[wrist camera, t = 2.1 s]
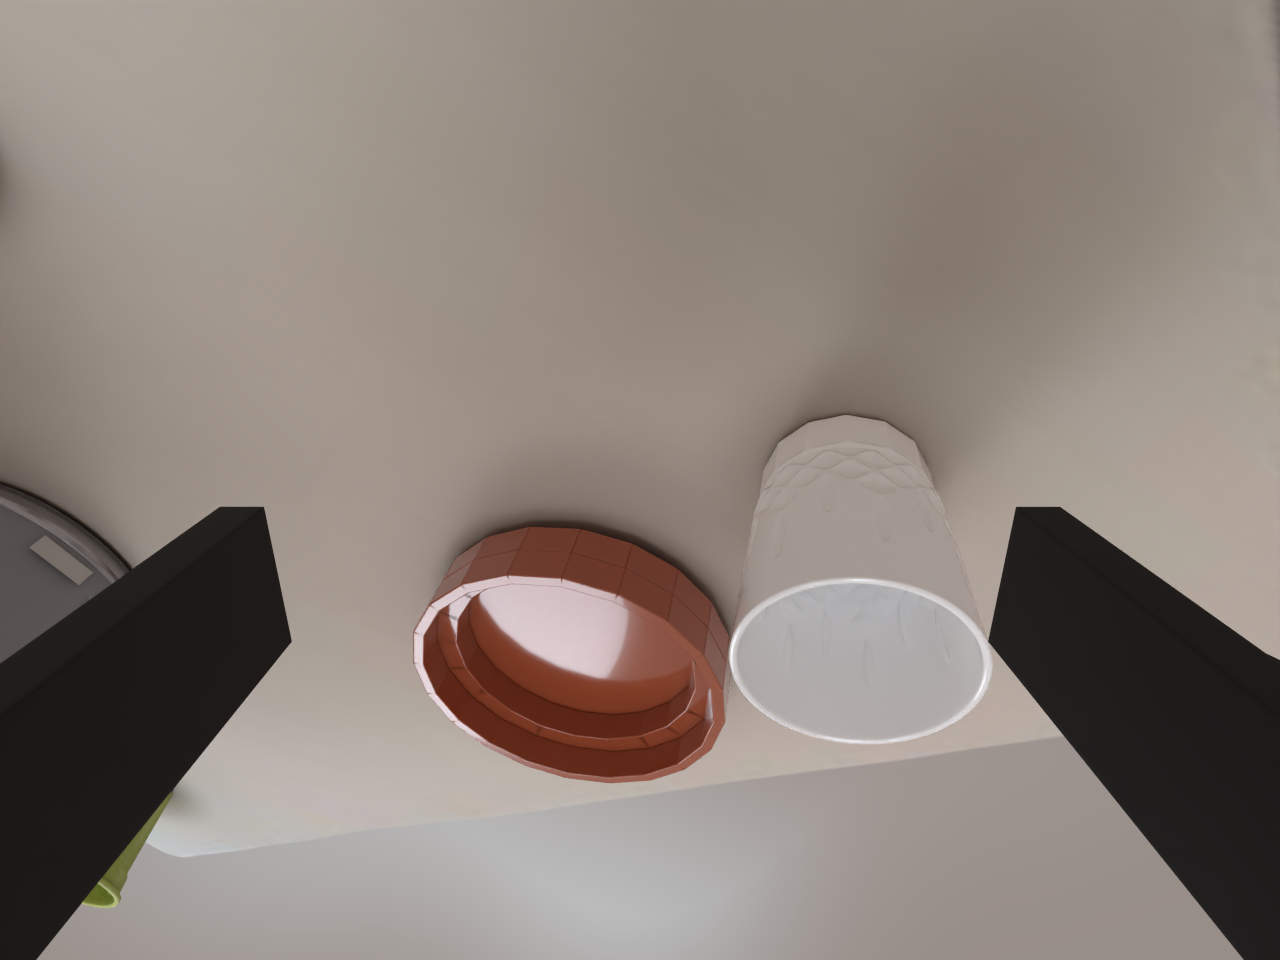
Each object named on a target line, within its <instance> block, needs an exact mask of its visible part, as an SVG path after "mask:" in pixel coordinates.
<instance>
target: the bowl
mask: <svg viewBox="0 0 1280 960" xmlns="http://www.w3.org/2000/svg"><path fill="white" fill-rule="evenodd" d="M729 648H730V638H729V635H728V633H727V631H726V629H725V627H724V625H723V623H722V621H721V619H720V617H719V616H718V614H717V612H716V610H715V608H714V606H713V604H712V602H711V601H710V600H709V599H708V598H707V597H706V596H705V595H704V594H703V593H702V592H701V591H700V590H699V589H698V588H697V587H696V586H695V585H694V584H693V583H692V582H691V581H690V580H689V579H688V578H687V577H686V576H685V575H684V574H683V573H682V572H681V571H680V570H678V569H677V568H676V567H674V566H672V565H670V564H668V563H667V562H665V561H663V560H661V559H660V558H658V557H656V556H654V555H652V554H651V553H649V552H647V551H645V550H643V549H642V548H640V547H638V546H636V545H635V544H631V543H629V542H625V541H622V540H618V539H615V538H611V537H608V536H604V535H601V534H598V533H594V532H591V531H587V530H584V529H581V530H580V529H574V528H550V527H526V528H522V529H518V530H513V531H509V532H505V533H501V534H497V535H492V536H488V537H487V538H485V539H483V540H482V541H480V542H479V543H477V544H476V545H474V546H473V547H471V548H470V549H468V550H467V551H465V552H464V553H462V554H461V555H459V556H458V557H457V558H455V560H454V562H453V563H452V565H451V567H450V569H449V570H448V572H447V574H446V575H445V577H444V579H443V581H442V582H441V584H440V586H439V588H438V589H437V591H436V593H435V594H434V596H433V598H432V600H431V601H430V603H429V605H428V607H427V608H426V610H425V612H424V613H423V615H422V617H421V619H420V620H419V622H418V624H417V626H416V627H415V629H414V632H413V662H414V665H415V667H416V670H417V672H418V674H419V676H420V679H421V681H422V683H423V685H424V688H425V690H426V692H427V693H428V695H429V696H430V697H431V698H432V700H433V701H434V702H435V703H436V704H437V705H438V706H439V708H440V709H441V710H442V711H443V712H444V713H445V714H446V716H447V717H448V718H449V719H450V720H451V721H452V722H453V723H454V724H456V725H457V726H458V727H460V728H461V729H462V730H464V731H465V732H467V733H468V734H469V735H471V736H472V737H473V738H475V739H476V740H477V741H479V742H480V743H482V744H483V745H484V746H486V747H488V748H490V749H492V750H494V751H496V752H498V753H500V754H502V755H504V756H506V757H508V758H510V759H512V760H515V761H517V762H519V763H521V764H523V765H525V766H528V767H531V768H535V769H538V770H541V771H545V772H548V773H551V774H555V775H558V776H562V777H565V778H570V779H579V780H587V781H595V782H603V783H621V782H636V781H649V780H654V779H657V778H660V777H663V776H666V775H669V774H672V773H676V772H679V771H682V770H685V769H686V768H688V767H689V766H690V765H692V764H693V763H694V762H696V761H697V760H698V759H700V758H701V757H702V756H704V755H705V754H706V753H708V752H709V751H710V750H711V749H712V747H713V745H714V743H715V741H716V740H717V738H718V736H719V734H720V732H721V730H722V728H723V726H724V724H725V719H726V710H727V701H728V691H729V682H730V673H731V668H730V663H729Z"/></svg>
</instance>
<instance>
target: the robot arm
mask: <svg viewBox="0 0 1280 960" xmlns="http://www.w3.org/2000/svg"><path fill="white" fill-rule="evenodd" d="M291 642H292V640H291V636H290V631H289V626H288V621H287V616H286V611H285V607H284V602H283V597H282V592H281V587H280V583H279V578H278V573H277V568H276V563H275V558H274V554H273V549H272V544H271V539H270V534H269V529H268V525H267V520H266V515H265V510H264V507H219V508H218V509H216V510H215V511H214V512H212V513H211V514H209V515H208V516H206V517H205V518H204V519H202V520H201V521H199V522H198V523H197V524H195V525H194V526H192V527H191V528H190V529H188V530H187V531H185V532H184V533H183V534H181V535H180V536H178V537H177V538H176V539H174V540H173V541H171V542H170V543H169V544H167V545H166V546H164V547H163V548H162V549H160V550H159V551H157V552H156V553H155V554H153V555H152V556H150V557H149V558H148V559H146V560H145V561H143V562H142V563H140V564H139V565H138V566H136V567H135V568H133V569H132V570H131V571H129V570H128V568H127V567H126V566H125V565H124V564H123V563H122V561H121V560H120V559H119V558H118V557H117V556H116V555H115V554H114V553H113V552H112V551H111V550H110V549H109V548H108V547H106V546H105V545H104V544H103V543H102V542H101V541H100V540H98V539H97V538H96V537H95V536H94V535H92V534H91V533H90V532H89V531H87V530H86V529H85V528H83V527H82V526H81V525H79V524H78V523H76V522H75V521H73V520H72V519H70V518H69V517H67V516H66V515H64V514H63V513H61V512H59V511H58V510H56V509H54V508H53V507H51V506H49V505H47V504H45V503H44V502H42V501H40V500H38V499H36V498H34V497H32V496H30V495H27V494H25V493H23V492H20V491H18V490H16V489H13V488H10V487H8V486H5V485H2V484H0V960H36V959H37V958H38V957H39V955H40V954H41V953H42V952H43V951H44V949H45V948H46V947H47V946H48V944H49V943H50V942H51V941H52V939H53V938H54V937H55V936H56V934H57V933H58V932H59V931H60V929H61V928H62V927H63V926H64V924H65V923H66V922H67V921H68V919H69V918H70V917H71V916H72V914H73V913H74V912H75V911H76V910H77V908H78V907H79V906H80V904H81V903H82V902H83V901H84V900H85V898H86V897H87V896H88V895H89V893H90V892H91V891H92V890H93V888H94V887H95V886H96V885H97V883H98V882H99V881H100V880H101V878H102V877H103V876H104V875H105V873H106V872H107V871H108V870H109V868H110V867H111V866H112V865H113V863H114V862H115V861H116V860H117V858H118V857H119V856H120V855H121V853H122V852H123V851H124V850H125V848H126V847H127V846H128V845H129V844H130V842H131V841H132V840H133V839H134V837H135V836H136V835H137V834H138V832H139V831H140V830H141V829H142V827H143V826H144V825H145V824H146V822H147V821H148V820H149V819H150V817H151V816H152V815H153V814H154V812H155V811H156V810H157V809H158V807H159V806H160V805H161V804H162V802H163V801H164V800H165V799H166V797H167V796H168V795H169V794H170V792H171V791H172V790H173V789H174V787H175V786H176V785H177V784H178V782H179V781H180V780H181V779H182V778H183V776H184V775H185V774H186V773H187V771H188V770H189V769H190V768H191V766H192V765H193V764H194V763H195V761H196V760H197V759H198V758H199V756H200V755H201V754H202V753H203V751H204V750H205V749H206V748H207V746H208V745H209V744H210V743H211V741H212V740H213V739H214V738H215V736H216V735H217V734H218V733H219V731H220V730H221V729H222V728H223V726H224V725H225V724H226V723H227V721H228V720H229V719H230V718H231V716H232V715H233V714H234V713H235V712H236V710H237V709H238V708H239V707H240V705H241V704H242V703H243V702H244V700H245V699H246V698H247V697H248V695H249V694H250V693H251V692H252V690H253V689H254V688H255V687H256V685H257V684H258V683H259V682H260V680H261V679H262V678H263V677H264V675H265V674H266V673H267V672H268V670H269V669H270V668H271V667H272V665H273V664H274V663H275V662H276V660H277V659H278V658H279V657H280V655H281V654H282V653H283V652H284V650H285V649H286V648H287V647H288V646H289V644H290V643H291ZM988 642H989V643H990V644H991V646H992V647H993V648H994V649H995V651H996V652H997V653H998V654H999V655H1000V657H1001V658H1002V659H1003V660H1004V662H1005V663H1006V664H1007V665H1008V667H1009V668H1010V669H1011V670H1012V672H1013V673H1014V674H1015V675H1016V677H1017V678H1018V679H1019V680H1020V682H1021V683H1022V684H1023V685H1024V687H1025V688H1026V689H1027V690H1028V692H1029V693H1030V694H1031V695H1032V697H1033V698H1034V699H1035V700H1036V702H1037V703H1038V704H1039V705H1040V707H1041V708H1042V709H1043V710H1044V712H1045V713H1046V714H1047V715H1048V716H1049V718H1050V719H1051V720H1052V721H1053V723H1054V724H1055V725H1056V726H1057V728H1058V729H1059V730H1060V731H1061V733H1062V734H1063V735H1064V736H1065V738H1066V739H1067V740H1068V741H1069V743H1070V744H1071V745H1072V746H1073V748H1074V749H1075V750H1076V751H1077V753H1078V754H1079V755H1080V756H1081V758H1082V759H1083V760H1084V761H1085V763H1086V764H1087V765H1088V766H1089V767H1090V769H1091V770H1092V771H1093V773H1094V774H1095V775H1096V776H1097V777H1098V779H1099V780H1100V781H1101V782H1102V784H1103V785H1104V786H1105V787H1106V789H1107V790H1108V791H1109V792H1110V794H1111V795H1112V796H1113V797H1114V799H1115V800H1116V801H1117V802H1118V804H1119V805H1120V806H1121V807H1122V809H1123V810H1124V811H1125V812H1126V814H1127V815H1128V816H1129V817H1130V819H1131V820H1132V821H1133V822H1134V824H1135V825H1136V826H1137V827H1138V828H1139V830H1140V831H1141V832H1142V834H1143V835H1144V836H1145V837H1146V839H1147V840H1148V841H1149V842H1150V843H1151V845H1152V846H1153V847H1154V848H1155V850H1156V851H1157V852H1158V853H1159V855H1160V856H1161V857H1162V858H1163V860H1164V861H1165V862H1166V863H1167V865H1168V866H1169V867H1170V868H1171V870H1172V871H1173V872H1174V873H1175V875H1176V876H1177V877H1178V878H1179V880H1180V881H1181V882H1182V883H1183V885H1184V886H1185V887H1186V888H1187V890H1188V891H1189V892H1190V893H1191V895H1192V896H1193V897H1194V898H1195V900H1196V901H1197V902H1198V903H1199V905H1200V906H1201V907H1202V908H1203V910H1204V911H1205V912H1206V913H1207V914H1208V916H1209V917H1210V918H1211V919H1212V921H1213V922H1214V923H1215V924H1216V926H1217V927H1218V928H1219V929H1220V931H1221V932H1222V933H1223V934H1224V936H1225V937H1226V938H1227V939H1228V941H1229V942H1230V943H1231V944H1232V946H1233V947H1234V948H1235V949H1236V951H1237V952H1238V953H1239V954H1240V956H1241V957H1242V958H1243V959H1244V960H1280V660H1279V659H1276V658H1274V657H1272V656H1270V655H1268V654H1266V653H1265V652H1263V651H1262V650H1260V649H1259V648H1257V647H1256V646H1255V645H1253V644H1252V643H1250V642H1249V641H1248V640H1246V639H1245V638H1243V637H1242V636H1241V635H1239V634H1238V633H1236V632H1235V631H1234V630H1232V629H1231V628H1229V627H1228V626H1227V625H1225V624H1224V623H1222V622H1221V621H1220V620H1218V619H1217V618H1215V617H1214V616H1213V615H1211V614H1210V613H1208V612H1207V611H1206V610H1204V609H1203V608H1201V607H1200V606H1199V605H1197V604H1196V603H1194V602H1193V601H1191V600H1190V599H1189V598H1187V597H1186V596H1184V595H1183V594H1182V593H1180V592H1179V591H1177V590H1176V589H1175V588H1173V587H1172V586H1170V585H1169V584H1168V583H1166V582H1165V581H1163V580H1162V579H1161V578H1159V577H1158V576H1156V575H1155V574H1154V573H1152V572H1151V571H1149V570H1148V569H1147V568H1145V567H1144V566H1142V565H1141V564H1140V563H1138V562H1137V561H1135V560H1134V559H1132V558H1131V557H1130V556H1128V555H1127V554H1125V553H1124V552H1123V551H1121V550H1120V549H1118V548H1117V547H1116V546H1114V545H1113V544H1111V543H1110V542H1109V541H1107V540H1106V539H1104V538H1103V537H1102V536H1100V535H1099V534H1097V533H1096V532H1095V531H1093V530H1092V529H1090V528H1089V527H1088V526H1086V525H1085V524H1083V523H1082V522H1081V521H1079V520H1078V519H1076V518H1075V517H1074V516H1072V515H1071V514H1069V513H1068V512H1066V511H1065V510H1064V509H1062V508H1061V507H1016V510H1015V515H1014V520H1013V525H1012V529H1011V534H1010V539H1009V544H1008V549H1007V554H1006V558H1005V563H1004V568H1003V573H1002V578H1001V583H1000V587H999V592H998V597H997V602H996V607H995V611H994V616H993V621H992V626H991V631H990V636H989V640H988Z"/></svg>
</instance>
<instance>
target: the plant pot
mask: <svg viewBox="0 0 1280 960" xmlns="http://www.w3.org/2000/svg"><path fill="white" fill-rule="evenodd" d="M171 795H172V791H171V792H170V794H169V795H168V796H167V797H166V799H165V800H164V801H163V802H162V804H161V805H160V806H159V807H158V809H157V810H156V811H155V812H154V814H153V815H152V816H151V817H150V819H149V820H148V821H147V822H146V824H145V825H144V826H143V827H142V829H141V830H140V831H139V832H138V834H137V835H136V836H135V837H134V839H133V840H132V841H131V842H130V844H129V845H128V846H127V847H126V848H125V850H124V851H123V852H122V853H121V855H120V856H119V857H118V858H117V860H116V861H115V862H114V863H113V865H112V866H111V867H110V868H109V870H108V871H107V872H106V873H105V875H104V876H103V877H102V878H101V880H100V881H99V882H98V883H97V885H96V886H95V887H94V888H93V890H92V891H91V892H90V893H89V895H88V896H87V897H86V898H85V900H84V901H83V902H82V903H81V904H85V905H89V906H94V907H99V908H112V907H114V906H117V905H118V903H119V902H120V899H121V896H120V894H119V893H120V891H121V889H122V887H123V885H124V884H125V882H126V880H127V873H128V871H129V869H130V868H131V866H132V864H133V862H134V861H135V859H136V857H137V855H138V853H139V852H140V850H141V848H142V846H143V845H144V843H145V841H146V839H147V838H148V836H149V834H150V832H151V831H152V829H153V827H154V826H155V824H156V822H157V820H158V819H159V817H160V815H161V814H162V812H163V810H164V809H165V807H166V805H167V803H168V802H169V800H170V798H171Z"/></svg>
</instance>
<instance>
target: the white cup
mask: <svg viewBox="0 0 1280 960" xmlns="http://www.w3.org/2000/svg"><path fill="white" fill-rule="evenodd" d="M729 663H730V668H731V672H732V675H733V678H734V680H735V682H736V684H737V686H738V687H739V689H740V690H741V692H742V693H743V694H744V696H745V697H746V698H747V699H748V700H749V701H750V702H751V703H752V704H753V705H754V706H755V707H756V708H757V709H758V710H760V711H761V712H762V713H764V714H765V715H766V716H768V717H769V718H771V719H773V720H774V721H776V722H778V723H780V724H782V725H784V726H786V727H788V728H790V729H792V730H795V731H797V732H800V733H803V734H806V735H809V736H812V737H816V738H820V739H824V740H829V741H835V742H842V743H851V744H885V743H894V742H901V741H907V740H911V739H915V738H919V737H923V736H926V735H929V734H932V733H934V732H937V731H939V730H941V729H943V728H946V727H948V726H949V725H951V724H953V723H955V722H956V721H958V720H959V719H961V718H962V717H963V716H965V715H966V714H967V713H968V712H970V711H971V710H972V709H973V708H974V707H975V706H976V705H977V703H978V702H979V701H980V700H981V698H982V697H983V695H984V694H985V692H986V690H987V688H988V686H989V683H990V680H991V676H992V669H993V661H992V654H991V650H990V646H989V643H988V640H987V637H986V634H985V631H984V628H983V625H982V622H981V619H980V615H979V612H978V609H977V606H976V603H975V600H974V596H973V593H972V590H971V587H970V584H969V580H968V577H967V574H966V571H965V568H964V564H963V561H962V558H961V555H960V552H959V549H958V546H957V544H956V542H955V539H954V536H953V533H952V530H951V527H950V524H949V522H948V518H947V516H946V513H945V510H944V507H943V504H942V501H941V499H940V496H939V494H938V493H937V491H936V490H935V488H934V485H933V481H932V478H931V474H930V471H929V469H928V467H927V465H926V463H925V461H924V459H923V457H922V455H921V453H920V451H919V449H918V447H917V445H916V443H915V442H914V441H913V440H912V439H910V438H909V437H907V436H906V435H904V434H903V433H901V432H900V431H898V430H897V429H895V428H894V427H892V426H891V425H889V424H888V423H886V422H884V421H880V420H874V419H868V418H862V417H856V416H851V415H842V416H837V417H832V418H827V419H823V420H818V421H813V422H808V423H807V424H805V425H804V426H802V427H801V428H799V429H798V430H796V431H795V432H793V433H792V434H790V435H789V436H787V437H786V438H784V439H783V440H781V441H780V442H779V443H778V445H777V446H776V448H775V450H774V452H773V453H772V455H771V457H770V459H769V461H768V462H767V464H766V466H765V468H764V470H763V475H762V482H761V488H760V495H759V500H758V502H757V505H756V509H755V512H754V516H753V520H752V526H751V532H750V537H749V541H748V545H747V550H746V555H745V561H744V567H743V573H742V579H741V585H740V591H739V597H738V603H737V609H736V614H735V620H734V626H733V631H732V637H731V642H730V648H729Z"/></svg>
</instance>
